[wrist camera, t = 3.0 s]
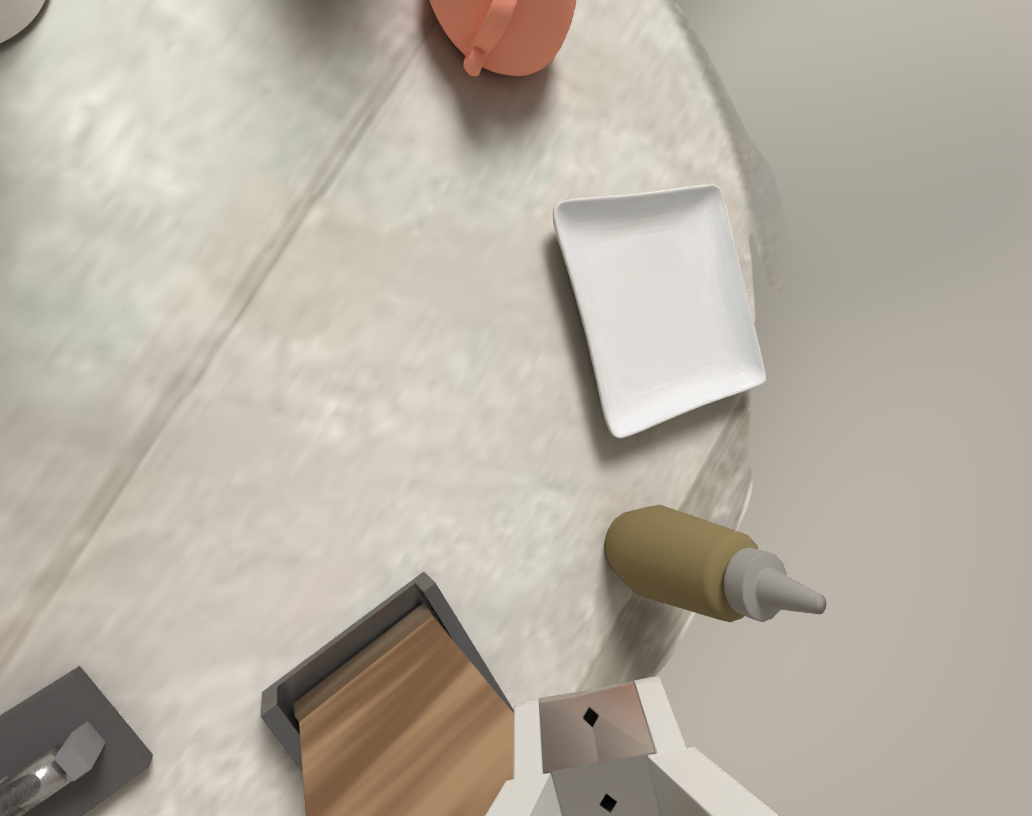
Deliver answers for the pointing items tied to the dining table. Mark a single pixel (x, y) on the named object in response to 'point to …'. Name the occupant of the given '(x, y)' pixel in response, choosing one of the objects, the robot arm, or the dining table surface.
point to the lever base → (72, 743)
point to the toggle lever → (32, 784)
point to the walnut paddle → (405, 730)
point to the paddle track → (351, 642)
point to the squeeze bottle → (702, 567)
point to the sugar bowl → (506, 32)
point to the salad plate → (659, 302)
